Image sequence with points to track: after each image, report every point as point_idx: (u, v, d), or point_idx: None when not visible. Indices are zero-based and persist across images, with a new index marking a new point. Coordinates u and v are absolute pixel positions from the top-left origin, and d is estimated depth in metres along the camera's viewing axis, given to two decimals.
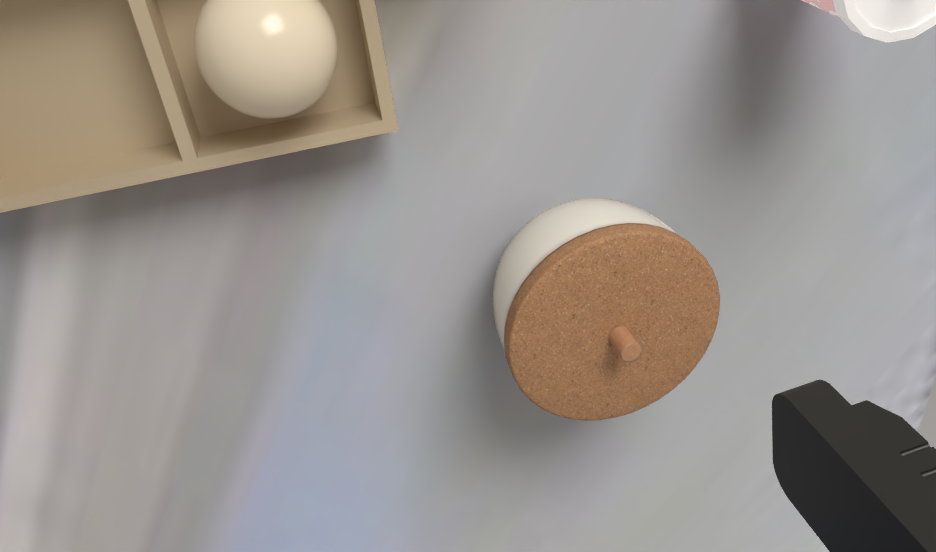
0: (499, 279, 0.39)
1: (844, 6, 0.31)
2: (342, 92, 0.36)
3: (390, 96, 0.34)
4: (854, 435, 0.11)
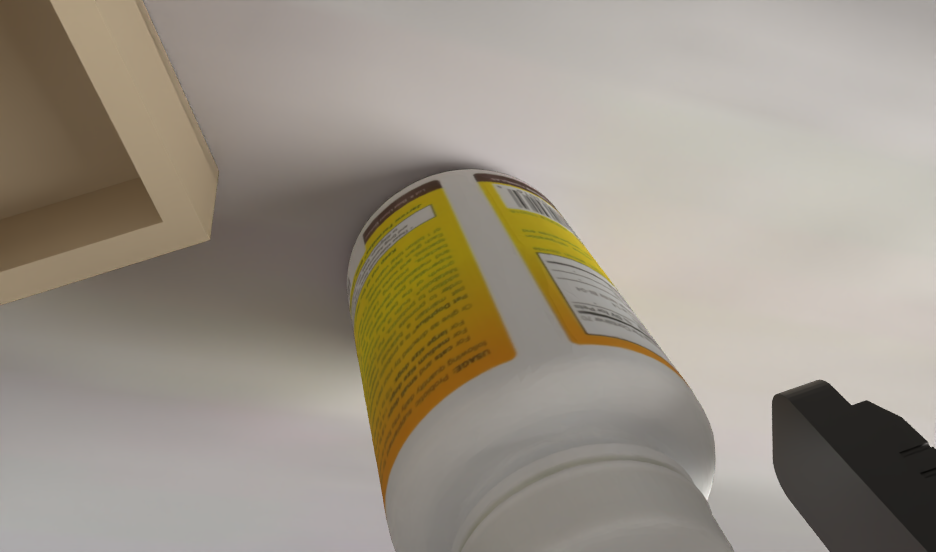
0: None
1: None
2: None
3: None
4: (854, 435, 0.11)
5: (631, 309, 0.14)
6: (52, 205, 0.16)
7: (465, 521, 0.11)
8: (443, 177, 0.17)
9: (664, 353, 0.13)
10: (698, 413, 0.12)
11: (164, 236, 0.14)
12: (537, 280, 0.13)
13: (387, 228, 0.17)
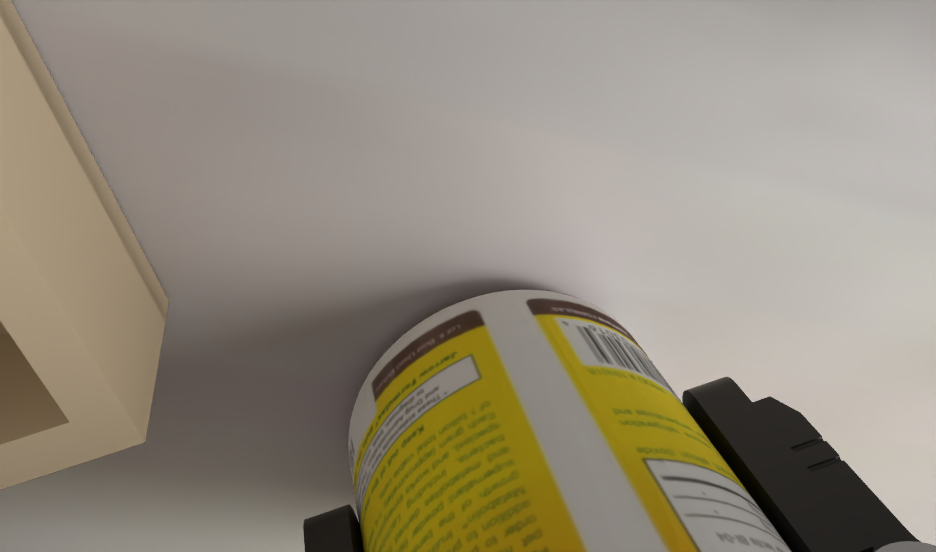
0: None
1: None
2: None
3: None
4: (750, 429, 0.11)
5: (783, 540, 0.10)
6: None
7: None
8: (485, 305, 0.12)
9: None
10: None
11: (73, 441, 0.09)
12: (657, 526, 0.09)
13: (408, 385, 0.12)
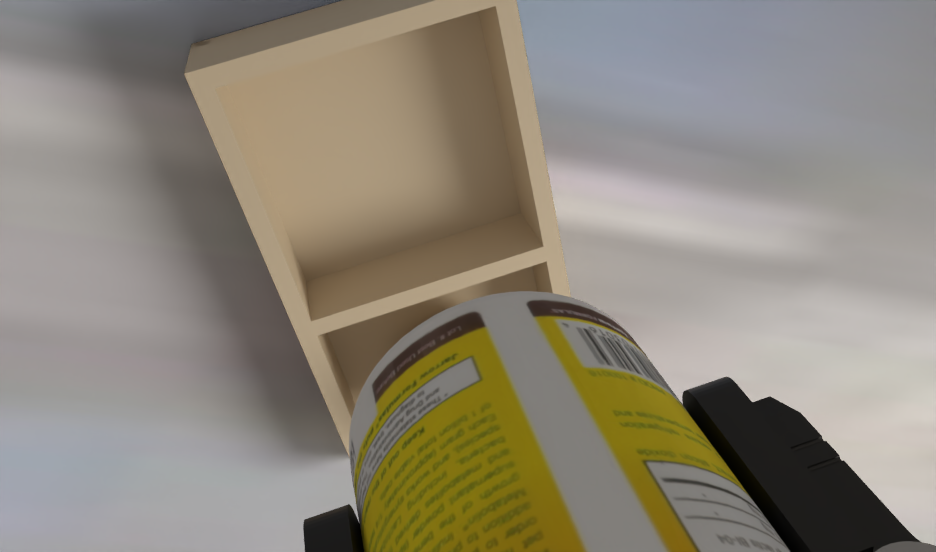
0: None
1: None
2: None
3: None
4: (749, 429, 0.11)
5: (783, 542, 0.10)
6: None
7: None
8: (486, 307, 0.12)
9: None
10: None
11: None
12: (658, 528, 0.09)
13: (409, 386, 0.12)
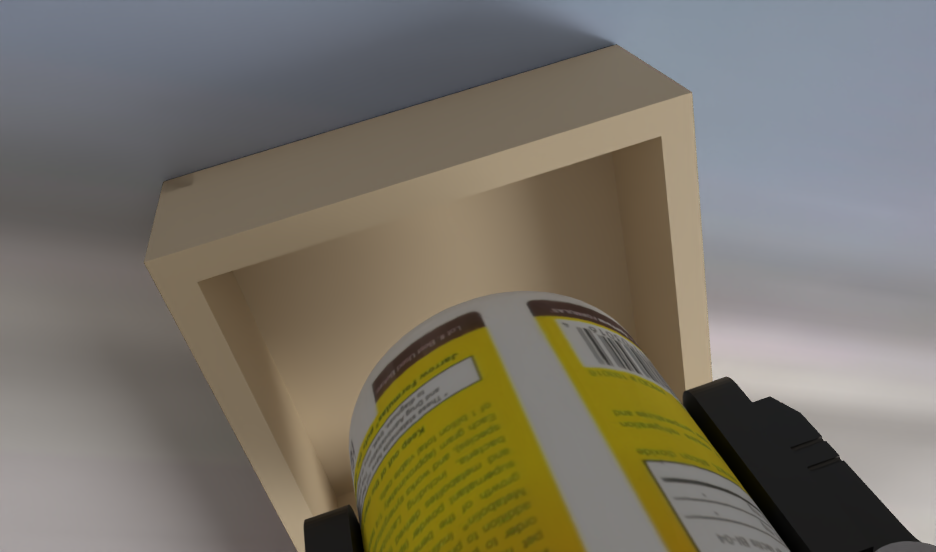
0: None
1: None
2: None
3: None
4: (750, 429, 0.11)
5: None
6: None
7: None
8: (486, 307, 0.12)
9: None
10: None
11: None
12: (659, 527, 0.09)
13: (409, 386, 0.12)
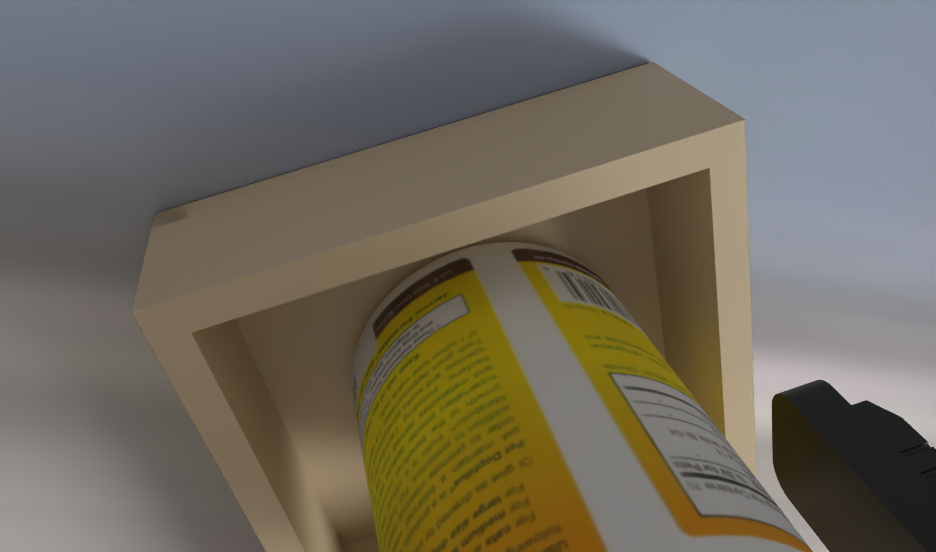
0: None
1: None
2: None
3: None
4: (854, 435, 0.11)
5: None
6: None
7: None
8: (475, 254, 0.14)
9: None
10: None
11: None
12: (617, 421, 0.10)
13: (405, 322, 0.13)
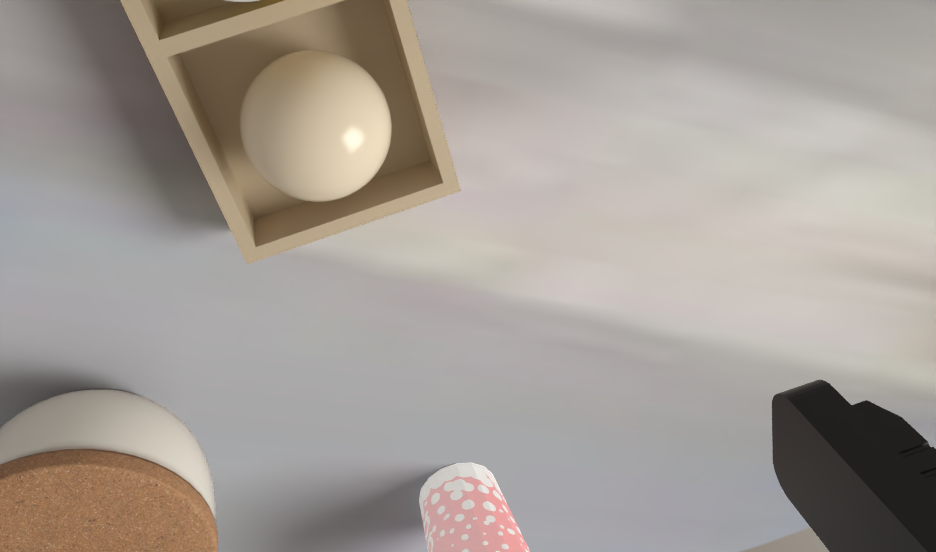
0: (88, 409, 0.33)
1: None
2: (259, 186, 0.33)
3: (283, 250, 0.32)
4: (854, 435, 0.11)
5: None
6: (375, 179, 0.34)
7: None
8: None
9: None
10: None
11: (442, 189, 0.33)
12: None
13: None
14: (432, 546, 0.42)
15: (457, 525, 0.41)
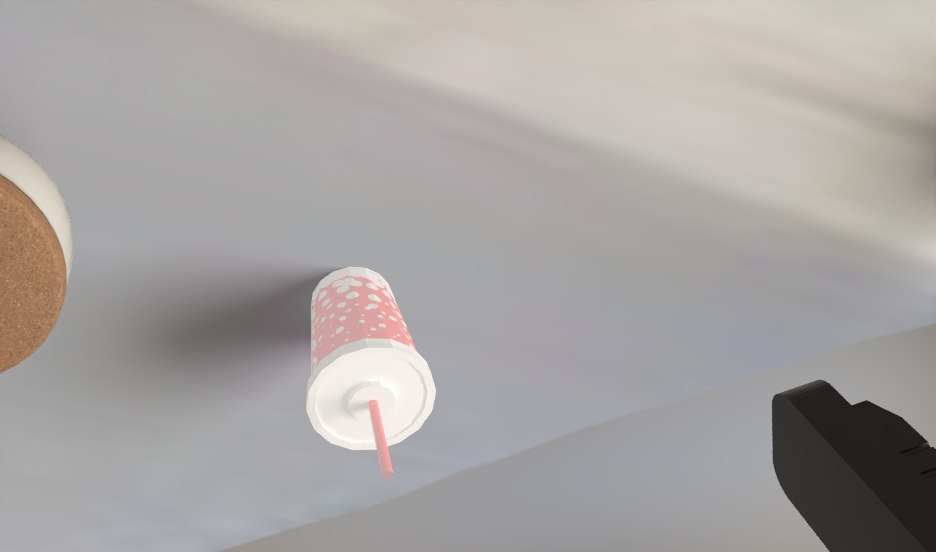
0: None
1: (329, 363, 0.36)
2: None
3: None
4: (854, 435, 0.11)
5: None
6: None
7: None
8: None
9: None
10: None
11: None
12: None
13: None
14: (313, 334, 0.40)
15: (337, 310, 0.40)
